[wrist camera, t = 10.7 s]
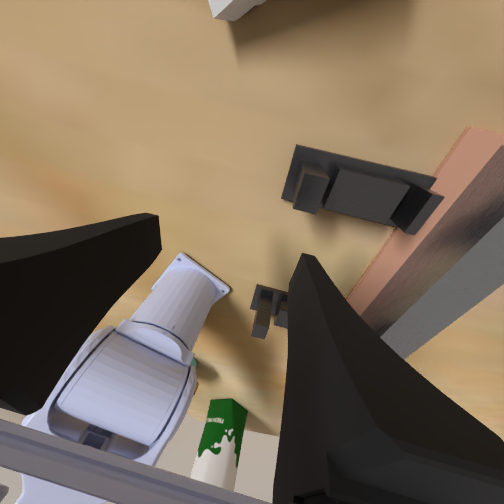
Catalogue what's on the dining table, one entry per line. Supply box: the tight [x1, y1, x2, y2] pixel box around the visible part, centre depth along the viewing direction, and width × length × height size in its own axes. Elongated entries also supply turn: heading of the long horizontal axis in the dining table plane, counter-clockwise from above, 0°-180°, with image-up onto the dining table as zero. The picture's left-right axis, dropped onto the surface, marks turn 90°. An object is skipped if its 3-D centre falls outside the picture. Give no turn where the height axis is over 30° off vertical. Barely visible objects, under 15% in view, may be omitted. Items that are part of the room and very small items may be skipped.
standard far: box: [250, 284, 288, 339], centre depth 24 cm, size 4×11×5 cm, turn 79°
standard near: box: [281, 144, 445, 236], centre depth 15 cm, size 4×11×5 cm, turn 80°
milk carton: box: [190, 399, 248, 492], centre depth 42 cm, size 9×9×20 cm
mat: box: [346, 127, 504, 316], centre depth 21 cm, size 27×9×1 cm, turn 169°
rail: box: [360, 145, 504, 359], centre depth 19 cm, size 26×4×4 cm, turn 169°
